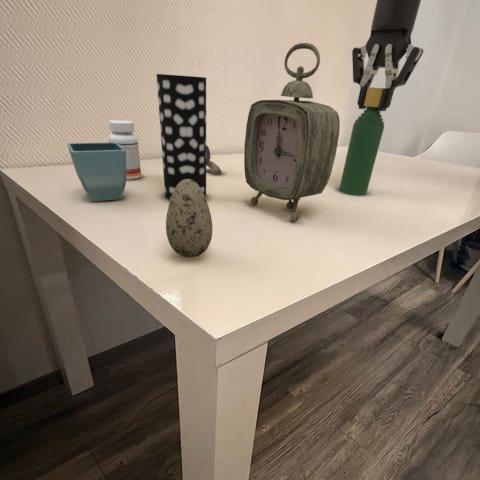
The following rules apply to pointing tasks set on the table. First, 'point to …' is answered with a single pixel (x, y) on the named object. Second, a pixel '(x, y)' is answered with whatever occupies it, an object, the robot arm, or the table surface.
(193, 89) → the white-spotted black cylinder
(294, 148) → the tabletop clock
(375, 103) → the cap
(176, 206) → the decorative egg
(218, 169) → the eagle figurine
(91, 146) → the flower pot
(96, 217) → the table surface
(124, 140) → the pill bottle
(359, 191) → the bottle
